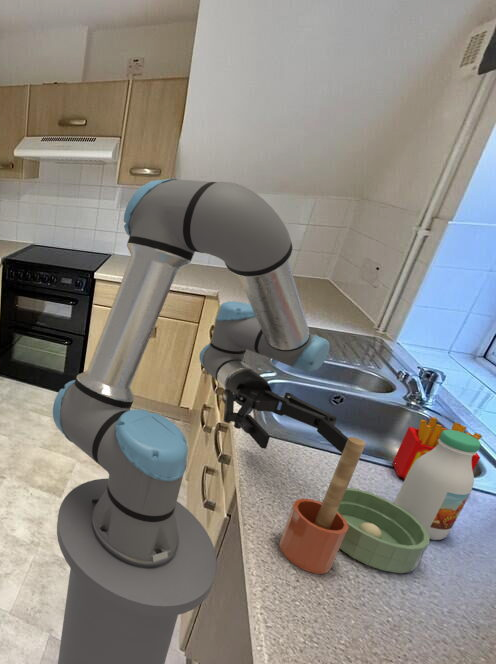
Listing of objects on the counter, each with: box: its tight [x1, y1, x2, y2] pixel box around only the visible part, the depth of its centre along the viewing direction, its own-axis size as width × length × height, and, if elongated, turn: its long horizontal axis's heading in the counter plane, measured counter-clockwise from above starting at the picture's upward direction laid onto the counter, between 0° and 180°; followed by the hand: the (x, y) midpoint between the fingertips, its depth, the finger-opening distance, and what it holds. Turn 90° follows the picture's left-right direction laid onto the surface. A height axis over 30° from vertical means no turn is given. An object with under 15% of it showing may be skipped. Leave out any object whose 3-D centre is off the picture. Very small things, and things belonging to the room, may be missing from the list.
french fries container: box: [391, 416, 483, 481], centre depth 87 cm, size 7×9×14 cm
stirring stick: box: [314, 436, 366, 530], centre depth 66 cm, size 2×2×24 cm
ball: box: [359, 523, 382, 539], centre depth 74 cm, size 3×3×3 cm
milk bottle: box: [393, 429, 482, 541], centre depth 75 cm, size 8×8×20 cm
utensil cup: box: [279, 498, 349, 575], centre depth 70 cm, size 7×7×9 cm
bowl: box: [337, 487, 431, 574], centre depth 73 cm, size 13×13×6 cm
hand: (306, 444), depth 72 cm, fingers open, 13 cm apart
